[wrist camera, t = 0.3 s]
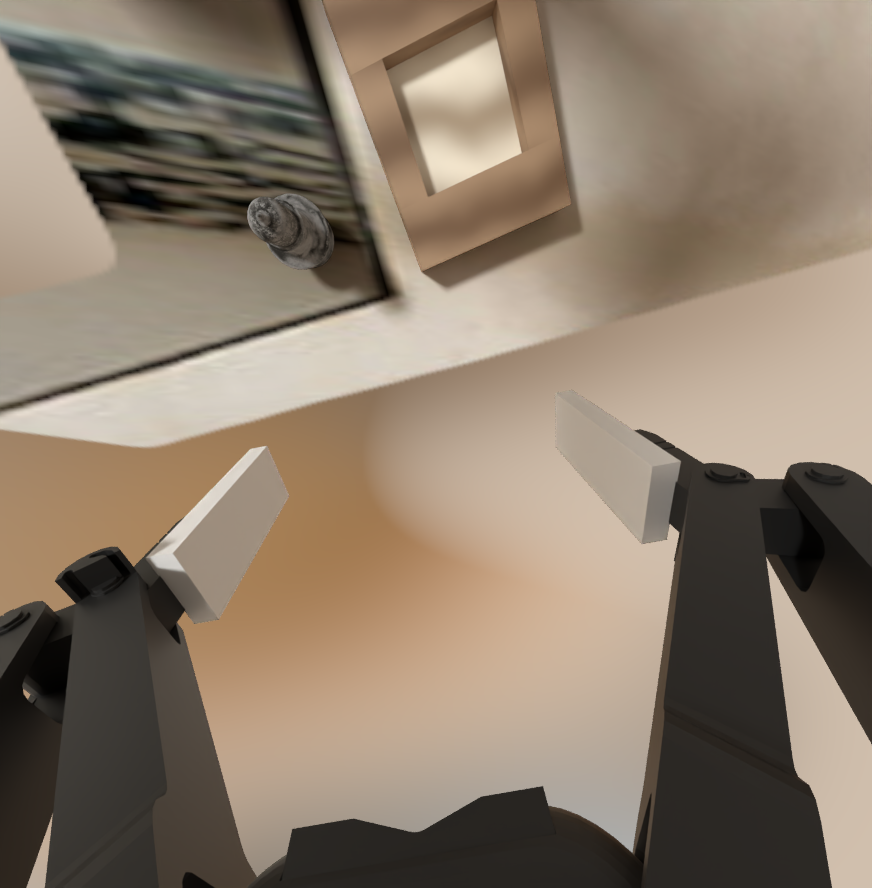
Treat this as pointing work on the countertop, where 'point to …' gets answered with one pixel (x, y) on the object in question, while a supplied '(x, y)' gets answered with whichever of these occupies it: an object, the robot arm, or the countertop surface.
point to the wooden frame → (456, 115)
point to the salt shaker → (292, 230)
